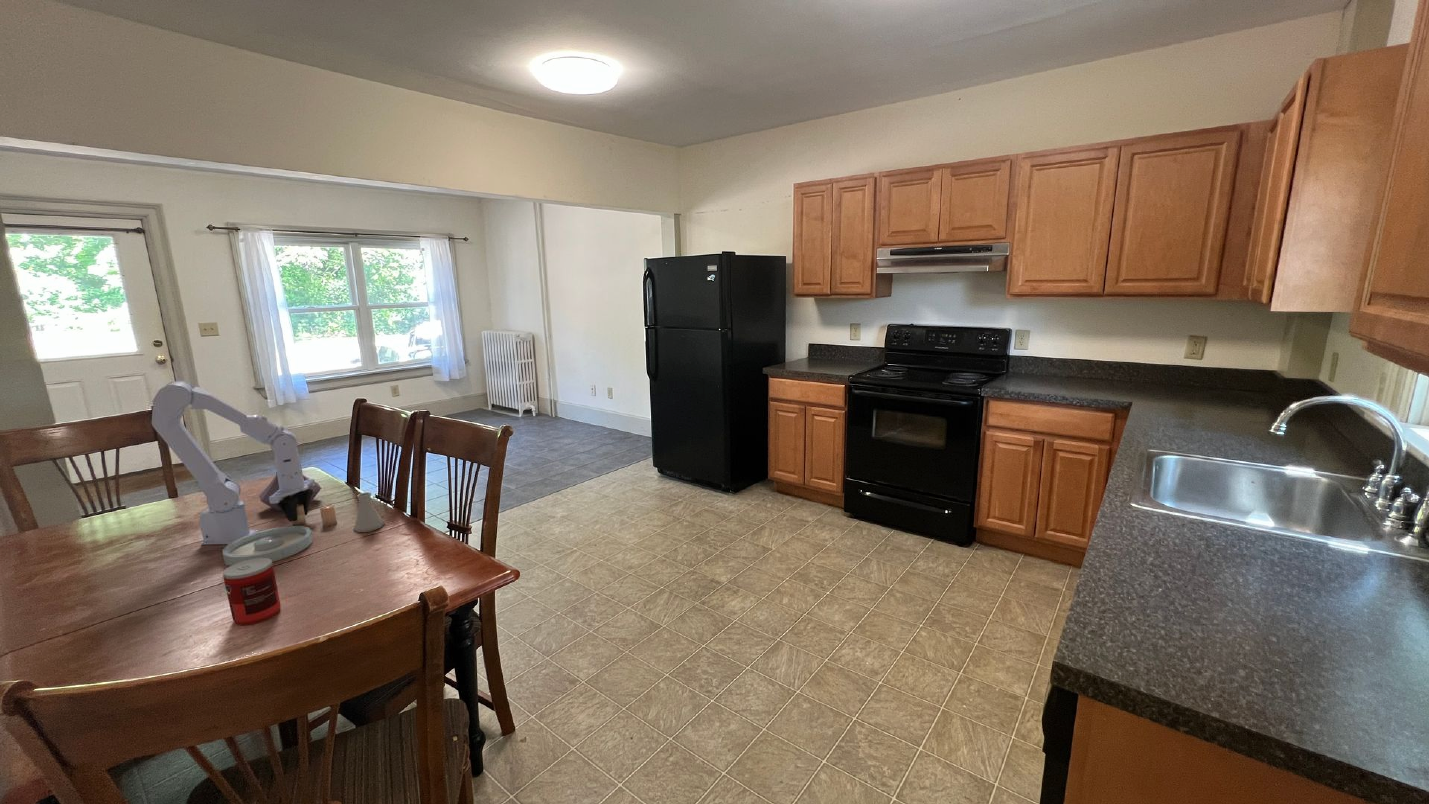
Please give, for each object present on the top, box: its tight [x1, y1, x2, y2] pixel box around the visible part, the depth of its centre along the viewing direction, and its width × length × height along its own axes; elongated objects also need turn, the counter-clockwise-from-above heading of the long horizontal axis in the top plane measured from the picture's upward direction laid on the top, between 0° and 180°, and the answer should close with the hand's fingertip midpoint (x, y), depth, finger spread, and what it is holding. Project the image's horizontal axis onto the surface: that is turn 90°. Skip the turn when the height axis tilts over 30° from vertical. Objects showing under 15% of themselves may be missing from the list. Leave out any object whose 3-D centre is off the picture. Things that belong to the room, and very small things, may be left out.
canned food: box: [222, 558, 282, 626], centre depth 114 cm, size 8×8×11 cm
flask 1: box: [258, 453, 322, 511], centre depth 174 cm, size 16×16×20 cm
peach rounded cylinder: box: [319, 504, 338, 527], centre depth 160 cm, size 3×3×5 cm
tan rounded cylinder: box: [290, 504, 307, 526], centre depth 160 cm, size 3×3×5 cm
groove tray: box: [222, 525, 314, 567], centre depth 145 cm, size 18×18×2 cm
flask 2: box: [353, 491, 386, 533], centre depth 156 cm, size 7×7×10 cm
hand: (298, 517), depth 160 cm, fingers closed on tan rounded cylinder, 3 cm apart
